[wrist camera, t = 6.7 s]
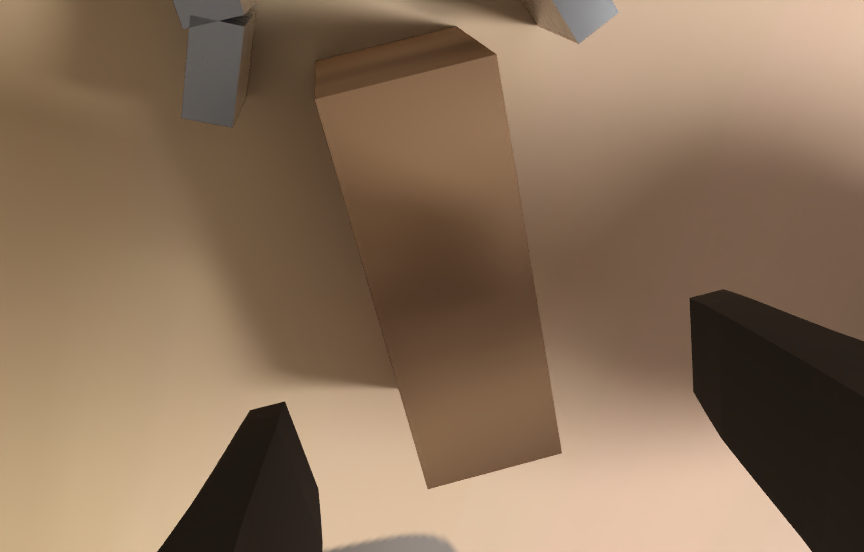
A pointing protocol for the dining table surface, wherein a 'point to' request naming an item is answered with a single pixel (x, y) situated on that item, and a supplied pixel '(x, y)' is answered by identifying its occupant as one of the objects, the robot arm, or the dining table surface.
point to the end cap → (233, 36)
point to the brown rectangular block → (443, 246)
